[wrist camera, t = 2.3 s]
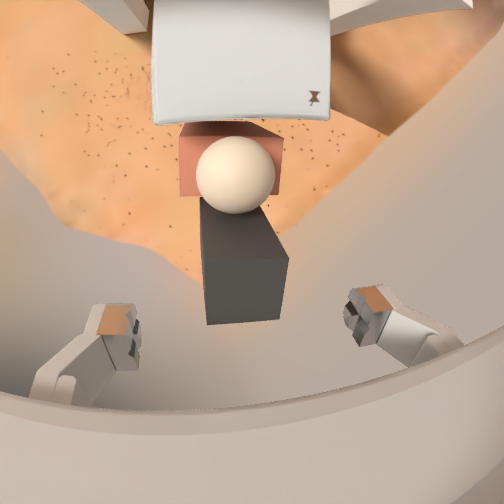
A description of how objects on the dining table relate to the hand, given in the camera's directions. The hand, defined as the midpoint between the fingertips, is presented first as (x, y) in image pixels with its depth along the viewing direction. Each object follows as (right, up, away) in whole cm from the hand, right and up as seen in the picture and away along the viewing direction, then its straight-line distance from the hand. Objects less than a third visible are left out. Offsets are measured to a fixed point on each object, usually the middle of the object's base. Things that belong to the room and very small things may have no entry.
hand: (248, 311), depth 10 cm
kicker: (-3, +10, +12) cm, 15 cm away
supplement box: (-2, +17, +9) cm, 19 cm away
